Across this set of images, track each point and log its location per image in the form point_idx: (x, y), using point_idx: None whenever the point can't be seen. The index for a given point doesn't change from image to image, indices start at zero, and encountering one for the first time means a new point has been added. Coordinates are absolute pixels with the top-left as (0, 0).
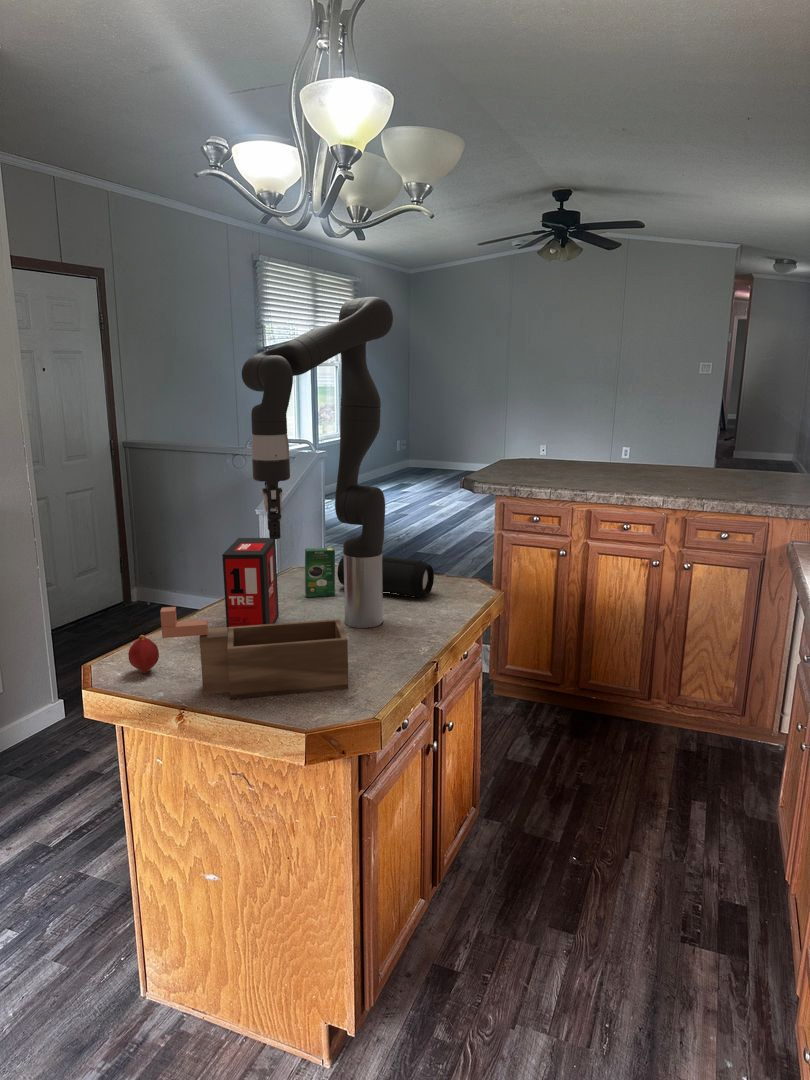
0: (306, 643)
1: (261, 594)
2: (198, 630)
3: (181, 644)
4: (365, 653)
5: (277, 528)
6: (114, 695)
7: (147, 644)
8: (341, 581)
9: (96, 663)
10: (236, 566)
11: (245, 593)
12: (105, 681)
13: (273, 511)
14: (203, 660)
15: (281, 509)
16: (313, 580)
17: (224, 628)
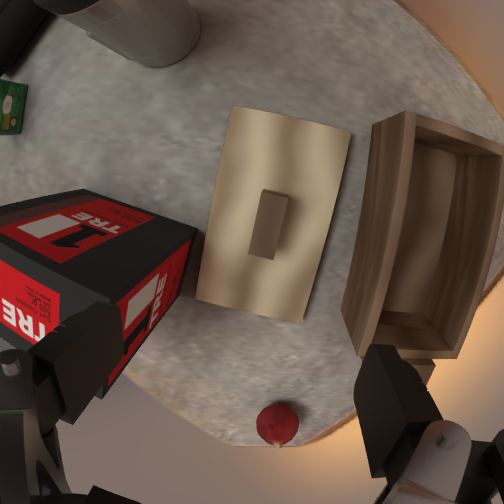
0: (498, 226)
1: (162, 262)
2: None
3: (181, 360)
4: (331, 65)
5: (427, 399)
6: (337, 429)
7: (288, 433)
8: (2, 73)
9: (226, 442)
10: None
11: (152, 299)
12: None
13: (46, 396)
14: None
15: (424, 490)
16: (1, 119)
17: None
